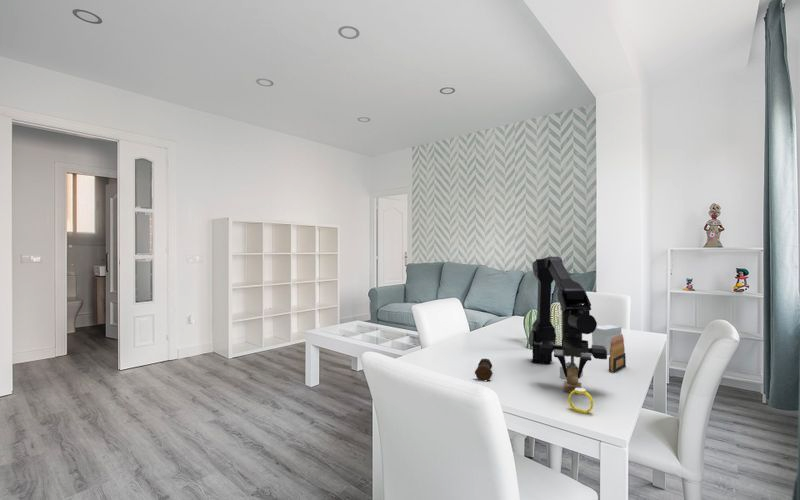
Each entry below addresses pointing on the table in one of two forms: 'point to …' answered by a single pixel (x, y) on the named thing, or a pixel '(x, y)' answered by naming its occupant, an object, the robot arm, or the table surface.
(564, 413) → the table surface
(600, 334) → the skincare box
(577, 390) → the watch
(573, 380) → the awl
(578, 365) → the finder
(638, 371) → the table surface
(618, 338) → the ammunition clip
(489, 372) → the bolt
